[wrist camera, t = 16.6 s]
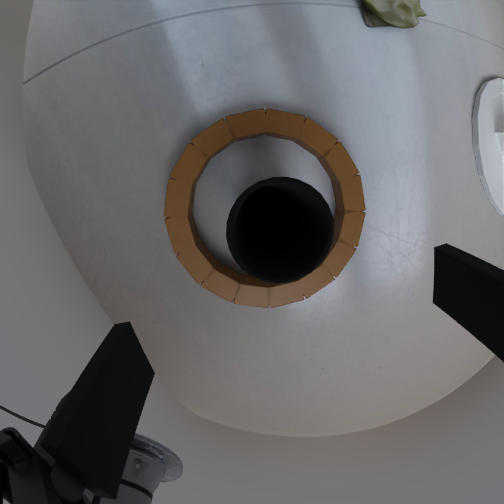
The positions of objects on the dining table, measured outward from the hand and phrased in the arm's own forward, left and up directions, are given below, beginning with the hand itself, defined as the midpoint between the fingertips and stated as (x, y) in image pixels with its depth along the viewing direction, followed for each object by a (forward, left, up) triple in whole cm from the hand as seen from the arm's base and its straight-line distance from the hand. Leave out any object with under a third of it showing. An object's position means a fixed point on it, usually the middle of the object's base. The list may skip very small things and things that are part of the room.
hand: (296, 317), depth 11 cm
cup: (+1, +1, -22) cm, 22 cm away
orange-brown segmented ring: (+1, +1, -22) cm, 22 cm away
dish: (+46, +4, -22) cm, 51 cm away
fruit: (+23, +26, -22) cm, 41 cm away
